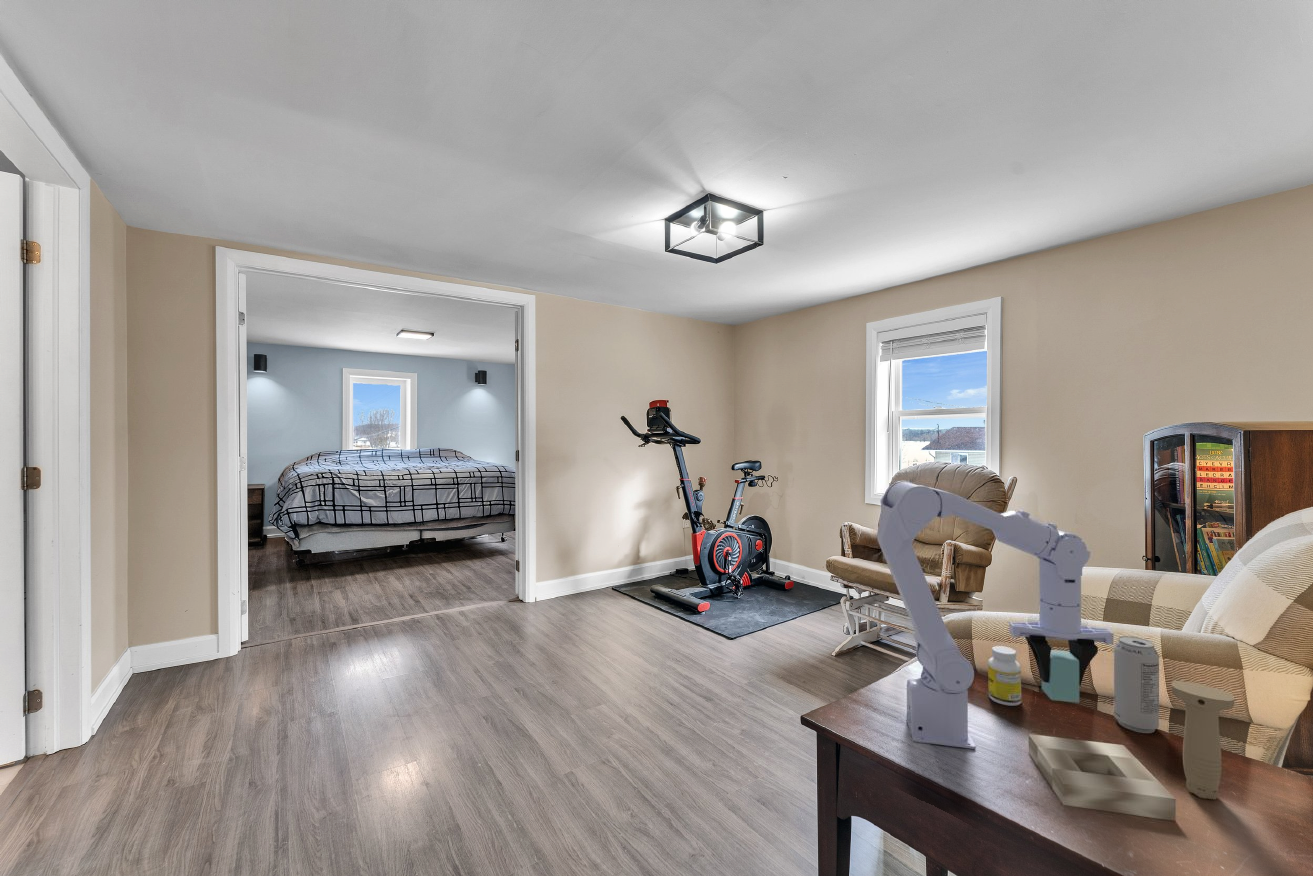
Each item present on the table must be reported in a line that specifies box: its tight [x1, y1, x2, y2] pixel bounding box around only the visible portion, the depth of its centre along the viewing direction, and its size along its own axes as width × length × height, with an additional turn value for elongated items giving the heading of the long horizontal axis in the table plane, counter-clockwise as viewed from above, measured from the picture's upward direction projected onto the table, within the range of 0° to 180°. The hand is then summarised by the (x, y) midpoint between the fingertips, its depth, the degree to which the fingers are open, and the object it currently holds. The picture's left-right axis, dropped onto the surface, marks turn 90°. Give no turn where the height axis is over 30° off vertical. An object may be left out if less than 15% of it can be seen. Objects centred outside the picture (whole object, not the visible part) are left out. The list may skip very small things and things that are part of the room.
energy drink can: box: [1113, 635, 1160, 734], centre depth 98 cm, size 6×6×15 cm
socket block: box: [1028, 733, 1177, 822], centre depth 83 cm, size 13×13×3 cm
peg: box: [1041, 649, 1080, 704], centre depth 94 cm, size 4×4×7 cm
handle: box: [1171, 680, 1235, 801], centre depth 80 cm, size 5×6×15 cm
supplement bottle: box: [987, 645, 1022, 707], centre depth 108 cm, size 5×5×10 cm
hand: (1060, 681), depth 94 cm, fingers closed on peg, 4 cm apart
